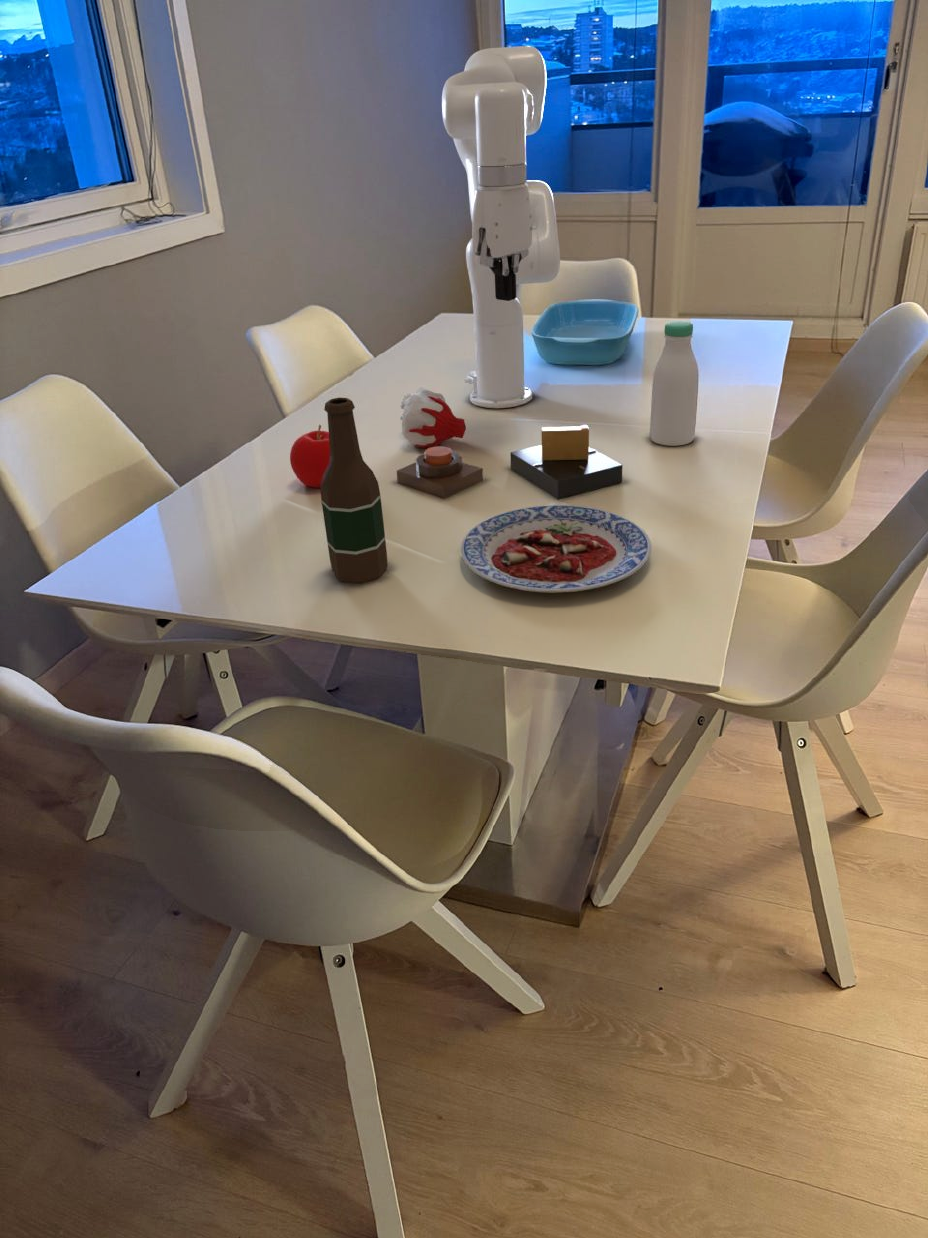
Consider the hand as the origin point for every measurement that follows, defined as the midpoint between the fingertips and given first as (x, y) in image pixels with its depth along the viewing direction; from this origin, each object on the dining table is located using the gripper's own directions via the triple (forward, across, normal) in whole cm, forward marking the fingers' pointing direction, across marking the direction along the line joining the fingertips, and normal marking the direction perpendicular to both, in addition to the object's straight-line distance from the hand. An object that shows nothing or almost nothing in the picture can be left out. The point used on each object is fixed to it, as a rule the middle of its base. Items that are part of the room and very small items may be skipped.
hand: (505, 298), depth 155 cm
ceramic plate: (+25, +30, +34) cm, 52 cm away
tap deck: (+25, +6, +17) cm, 31 cm away
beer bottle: (+25, +49, +15) cm, 57 cm away
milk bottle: (+25, -18, +22) cm, 38 cm away
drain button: (+21, +20, +2) cm, 29 cm away
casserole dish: (+25, -57, -26) cm, 68 cm away
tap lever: (+22, +6, +17) cm, 28 cm away
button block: (+25, +20, +2) cm, 32 cm away
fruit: (+25, +32, -14) cm, 43 cm away
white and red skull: (+25, +8, -12) cm, 29 cm away
